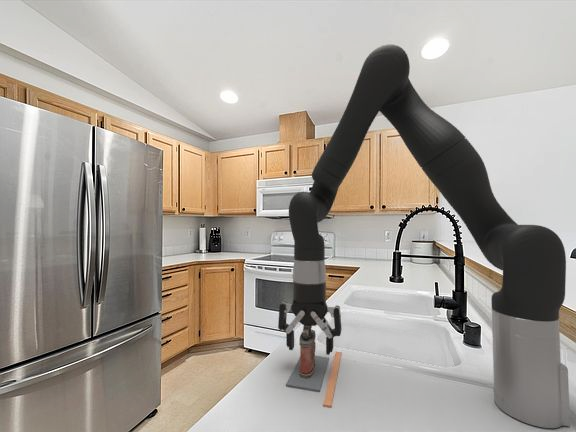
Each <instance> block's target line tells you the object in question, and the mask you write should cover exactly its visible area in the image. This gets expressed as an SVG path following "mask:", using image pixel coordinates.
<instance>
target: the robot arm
mask: <svg viewBox="0 0 576 432" xmlns="http://www.w3.org/2000/svg"><path fill="white" fill-rule="evenodd" d="M410 67H411V66H410V60H409V56H408V53H407V52H406V51H405V50H404V49H403V47H401V46H400V45H396V44H391V43H389V44H383V45H381V46H379V47H377V48H375V49H374V50H372V51H371V52H370V53H369V54H368V56H367V57H366V59H365V60H364V61H363V64H362V66H361V69H360V72H359V75H358V77H357V80H356V83H355V86H354V88H353V90H352V93H351V96H350V98H349V101H348V103H347V105H346V107H345V110H344V112H343V114H342V117H341V118H340V120H339V122H338V124H337V126H336V128H335V130H334V132H333V134H332V135H331V138H330V139H329V141H328V142H327V145H326V147H325V148H324V150H323V152H322V153H321V156H320V157H319V158H318V161H317V162H316V164H315V166H314V168H313V170H312V172H311V178H312V180H313V183H312V185H311V188H310V191H298V192H297V193H295V194H294V195H293V196H292V197H291V199H290V202H289V205H288V218H289V224H290V229H291V234H292V238H293V241H294V245H293V250H294V251H293V266H292V267H293V269H292V303H288V302H287V301H286V300H285V301H282V302H281V303H280V304H279V309H278V323H277V329H278V330H279V331H284V332H285V334H286V335H285V336H286V337H285V338H286V340H285V341H286V343H285V344H286V348H288V351H293V350H294V348H295V330H294V329H295V327H297V325H298V324H299V323H300V324H301V325H302V326H304V325H308V324H309V325H312V327H316V326H318V327H319V328H320V330H321V331H322V332H323V333H324V335H325V337H326V338H325V353H326V356H330V355H331V353H332V352H333V350H334V338H335V337H340V336H341V335H342V319H341V318H342V317H341V306H339V305H335V306H328V305H327V285H326V284H327V282H326V281H327V278H326V277H327V269H326V263H325V260H326V259H325V256H326V255H325V239H324V237H323V236H322V235H321V234H320V233H319V227H318V226H319V224H318V223H320V222H322V221H323V220H325V218H326V217H327V216H328V215H329V214H330V211H331V210H332V207H333V205H334V203H335V199H336V198H337V197H336V196H337V194H338V191H339V188H340V186H341V184H342V183H343V181H344V179H346V177H347V175H348V173H349V171H350V170H351V168H352V166H353V165H354V162H355V160H356V158H357V156H358V155H359V151H360V149H361V147H362V145H363V143H364V140H365V138H366V136H367V133H368V131H369V130H370V128H371V126H372V123H373V122H374V120H375V119H376V117H377V115H378V113H379V112H380V114H382V116H383V117H385V118H386V120H387V121H388V122H389V123H390V124H391V125H392V126H393V127H394V129H395V130H396V132H397V133H398V134H399V137H400V138H401V140H402V141H403V143H404V144H405V146H406V148H407V150H408V151H409V153H410V154H411V155H412V157H413V158H414V160H415V161H416V163H417V164H418V166H419V167H420V168H421V170H422V171H423V172H424V174H425V175H426V176H427V178H428V180H430V182H431V183H432V184H433V185H434V186H435V188H436V189H437V190H438V191H439V193H440V194H441V195H442V196H443V198H444V199H445V200H446V202H447V203H448V204H449V206H450V207H451V208H452V209H453V210H454V212H455V213H457V215H458V216H459V218H460V219H461V220H462V222H463V224H464V225H465V226H466V228H467V230H468V232H469V233H470V234H471V236H472V238H473V240H474V241H475V243H476V245H477V247H478V249H479V250H480V251H481V253H482V255H483V256H484V258H485V260H487V261H488V263H490V264H491V265H492V266H493V267H495V268H497V269H499V270H500V271H502V284H501V287H500V289H499V290H498V291H495V292H494V293H493V294H492V295H491V324H492V325H491V326H492V327H491V328H492V329H491V330H492V331H491V332H492V337H491V338H492V362H493V365H492V366H493V367H492V368H493V373H492V374H493V398H494V403H495V405H496V406H497V408H499V409H500V410H502V412H504V413H506V414H507V415H508V416H510V417H511V418H514V419H516V420H518V421H519V422H523V423H525V424H528V425H531V426H534V427H539V428H542V429H543V428H545V429H557V428H560V427H562V426H563V427H571V420H570V419H571V417H570V416H571V412H570V389H569V387H570V386H569V369H568V367H567V365H565V364H564V363H562V362H561V360H562V359H561V337H560V335H561V334H560V309H561V307H562V306H563V305H564V301H565V299H566V283H567V282H566V280H567V278H566V276H567V273H566V272H567V264H566V263H567V257H566V255H567V254H566V250H565V246H564V244H563V241H562V239H561V238H560V237H559V235H558V234H557V233H556V232H555V231H553V230H552V229H550V228H549V227H546V226H542V225H537V224H519V223H517V222H515V220H514V219H513V218H512V217H511V216H510V215H509V214H508V212H506V210H505V209H504V208H503V206H501V204H500V203H499V202H498V200H497V199H496V197H495V194H494V192H493V189H492V186H491V183H490V179H489V175H488V171H487V168H486V165H485V162H484V161H483V158H482V157H481V156H480V154H479V152H478V150H476V148H475V147H474V146H473V144H472V143H471V142H470V141H469V139H467V138H466V136H465V135H464V134H463V133H462V131H460V130H459V129H458V128H457V127H456V125H454V124H452V123H451V122H450V121H449V120H447V119H446V118H444V117H442V116H441V115H440V114H438V113H437V112H435V111H434V110H433V109H431V108H430V107H429V106H428V105H427V104H426V103H425V102H424V99H422V98H421V96H420V95H419V93H418V92H417V90H416V89H415V88H414V87H415V86H414V85H413V83H412V82H411V80H410V78H409V77H410ZM290 310H291V311H292V313H293V315H294V316H295V317H294V318H293V320H292V321H291V322H290V323H289V324H288V323H287V317H288V316H287V314H288V313H289V312H290ZM328 313H329V314H330V316H331V318H333V321H334V322H333V323H334V328H332V326H331V325H330V323H329V321H328V320H327V318H326V315H327V314H328Z"/></svg>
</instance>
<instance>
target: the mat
mask: <svg viewBox="0 0 576 432" xmlns="http://www.w3.org/2000/svg"><path fill="white" fill-rule="evenodd" d="M329 361H330V357H328V356H320V355H315V362H316V367H315V372H314V374H313V376H312V377H311V378H310V379H303V378H301V377H300V376H299V371H300V357H299V358H298V360H297V362H296V364H295V366H294V368H293V370H292V372H291V373H290V376H289V377H288V380H287V382H286V383H285V386H286V387H287V388H293V389H297V390H298V389H300V390H304V391H305V390H306V391H310V392H316V393H317V392H318V393H320V392H321V389H322V387H323V386H322V385H323V381H324V378H325V374H326V371H327V367H328V364H329Z"/></svg>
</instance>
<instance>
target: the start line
mask: <svg viewBox="0 0 576 432" xmlns="http://www.w3.org/2000/svg"><path fill="white" fill-rule="evenodd" d="M341 358H342V351H335V353H334V356H333V360H332V361H333V362H332V365H331V370H330V374H329V379H328V382H327V386H326V390H325V395H324V399H323V404H322V407H326V408H332V405H333V400H334V395H335V389H336V385H337V379H338V375H339V368H340V363H341Z"/></svg>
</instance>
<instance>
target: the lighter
mask: <svg viewBox="0 0 576 432" xmlns="http://www.w3.org/2000/svg"><path fill="white" fill-rule="evenodd" d="M312 327H313V326H312V325H309V324H308V325H303V327H302V332H301V334H300V336H299V339H298V340H299V343H298V344H299V349H300V350H299V353H300V356H299V358H300V371H299V376H300V377H301V378H303V379H310V378H311V377H312V376H313V374H314V372H315V367H316V362H315V356H316V354H315V353H316V350H317V349H316V348H317V347H316V337H317V336H316V330H314V329H312Z"/></svg>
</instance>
